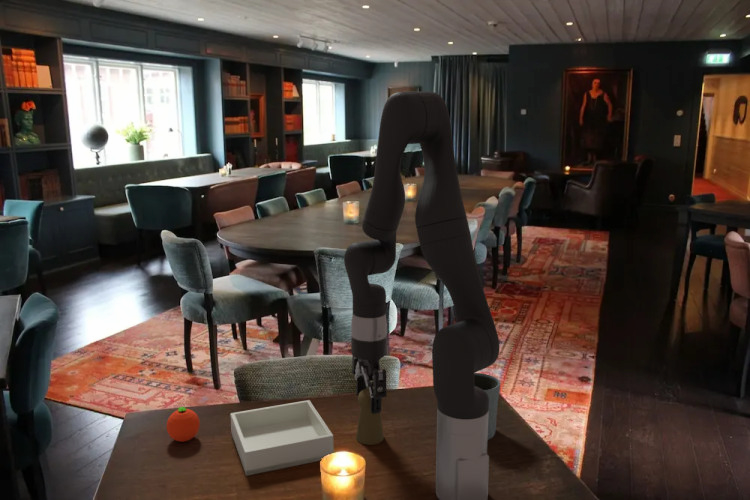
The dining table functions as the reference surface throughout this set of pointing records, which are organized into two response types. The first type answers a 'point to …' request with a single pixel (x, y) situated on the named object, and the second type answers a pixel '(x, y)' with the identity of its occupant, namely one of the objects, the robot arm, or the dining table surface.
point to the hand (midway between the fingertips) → (368, 404)
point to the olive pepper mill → (368, 421)
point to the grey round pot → (492, 390)
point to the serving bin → (280, 436)
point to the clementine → (183, 424)
